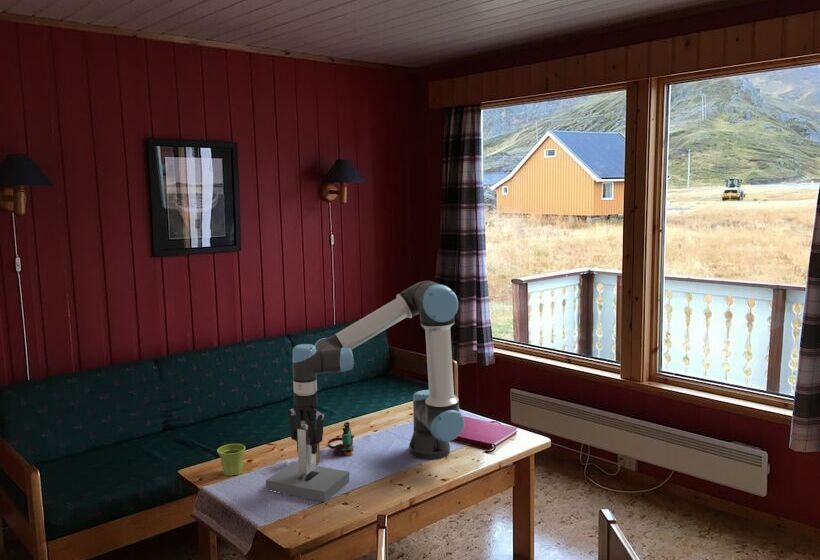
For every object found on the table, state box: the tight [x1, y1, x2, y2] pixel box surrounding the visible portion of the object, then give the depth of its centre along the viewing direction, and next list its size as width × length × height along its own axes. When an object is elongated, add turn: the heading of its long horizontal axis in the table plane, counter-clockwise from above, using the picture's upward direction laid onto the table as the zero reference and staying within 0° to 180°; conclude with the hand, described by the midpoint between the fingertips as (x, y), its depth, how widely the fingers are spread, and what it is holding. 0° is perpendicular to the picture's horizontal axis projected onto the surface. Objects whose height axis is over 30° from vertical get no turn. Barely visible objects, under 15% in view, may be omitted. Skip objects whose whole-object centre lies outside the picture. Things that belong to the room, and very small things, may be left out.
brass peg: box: [316, 443, 321, 465], centre depth 243 cm, size 6×6×12 cm
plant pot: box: [216, 443, 246, 477], centre depth 235 cm, size 9×9×9 cm
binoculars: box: [327, 421, 355, 456], centre depth 252 cm, size 9×11×10 cm
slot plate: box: [265, 461, 350, 503], centre depth 224 cm, size 22×16×4 cm
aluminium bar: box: [297, 423, 318, 475], centre depth 223 cm, size 3×6×15 cm, turn 156°
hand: (307, 461), depth 223 cm, fingers closed on aluminium bar, 3 cm apart
